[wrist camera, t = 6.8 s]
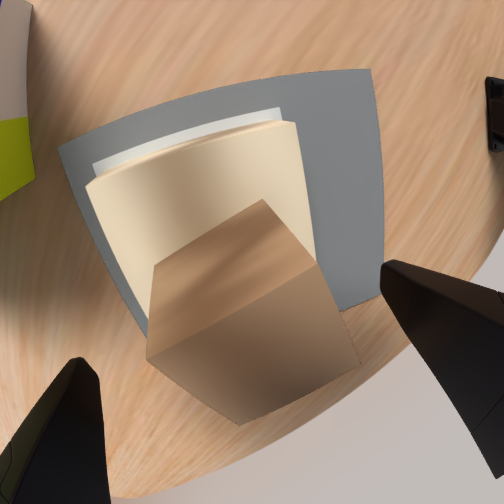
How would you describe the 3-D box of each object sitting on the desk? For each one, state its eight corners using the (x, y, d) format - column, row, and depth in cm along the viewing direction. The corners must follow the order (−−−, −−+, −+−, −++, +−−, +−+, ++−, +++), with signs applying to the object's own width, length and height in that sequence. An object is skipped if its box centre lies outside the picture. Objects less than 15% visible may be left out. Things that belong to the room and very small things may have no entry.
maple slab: (271, 119, 12) (295, 122, 10) (298, 262, 16) (319, 293, 14) (104, 170, 12) (85, 186, 9) (162, 305, 16) (161, 342, 13)
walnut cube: (262, 198, 11) (317, 263, 7) (309, 286, 14) (361, 363, 9) (154, 265, 11) (145, 359, 7) (219, 338, 14) (239, 425, 9)
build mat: (364, 69, 13) (370, 68, 12) (377, 289, 20) (382, 294, 19) (61, 145, 11) (56, 147, 11) (165, 360, 19) (165, 367, 18)
